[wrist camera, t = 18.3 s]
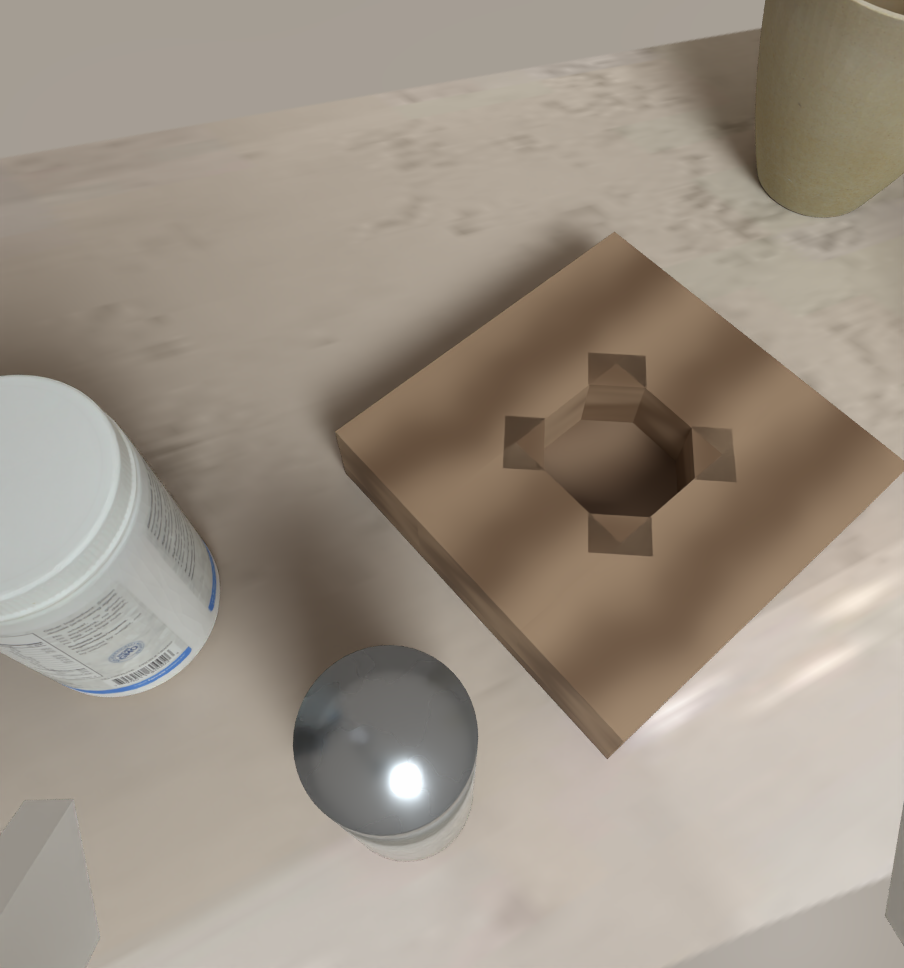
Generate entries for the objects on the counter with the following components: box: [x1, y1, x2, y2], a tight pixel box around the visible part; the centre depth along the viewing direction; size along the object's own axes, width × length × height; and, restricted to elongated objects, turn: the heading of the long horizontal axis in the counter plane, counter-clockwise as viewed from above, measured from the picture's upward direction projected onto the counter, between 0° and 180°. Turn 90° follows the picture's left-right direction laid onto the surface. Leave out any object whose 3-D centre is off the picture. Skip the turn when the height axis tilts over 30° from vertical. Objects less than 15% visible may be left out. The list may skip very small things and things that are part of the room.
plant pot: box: [755, 0, 904, 217], centre depth 49 cm, size 15×15×16 cm
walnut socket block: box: [335, 232, 904, 759], centre depth 44 cm, size 20×20×4 cm
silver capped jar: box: [293, 645, 478, 862], centre depth 33 cm, size 6×6×13 cm
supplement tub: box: [0, 375, 220, 697], centre depth 37 cm, size 10×10×15 cm
